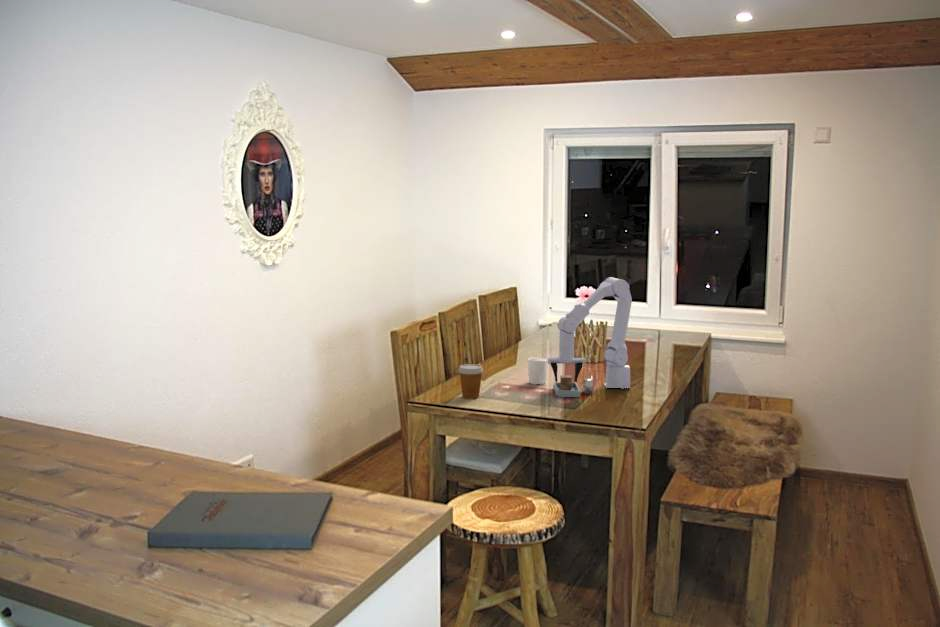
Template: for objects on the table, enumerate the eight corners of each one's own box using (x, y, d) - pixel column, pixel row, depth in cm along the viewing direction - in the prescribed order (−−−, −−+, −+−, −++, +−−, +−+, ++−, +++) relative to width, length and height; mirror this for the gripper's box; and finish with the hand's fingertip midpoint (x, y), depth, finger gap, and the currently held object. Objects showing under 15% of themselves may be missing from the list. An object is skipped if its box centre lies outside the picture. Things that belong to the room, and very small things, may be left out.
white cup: (545, 385, 323) (546, 361, 321) (526, 384, 324) (526, 360, 323) (547, 381, 330) (548, 357, 329) (528, 380, 332) (529, 356, 330)
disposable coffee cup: (474, 401, 297) (474, 370, 296) (453, 398, 302) (453, 367, 301) (487, 396, 305) (488, 365, 304) (466, 392, 310) (466, 362, 309)
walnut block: (570, 387, 317) (570, 375, 316) (571, 390, 313) (571, 377, 312) (560, 387, 317) (560, 375, 316) (561, 390, 313) (561, 377, 312)
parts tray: (576, 388, 318) (576, 382, 318) (580, 397, 304) (580, 390, 304) (553, 388, 318) (553, 382, 318) (556, 396, 304) (556, 390, 304)
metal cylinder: (592, 390, 314) (592, 378, 313) (593, 393, 310) (594, 380, 309) (582, 390, 314) (582, 378, 313) (583, 393, 310) (583, 380, 309)
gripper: (549, 349, 308) (548, 383, 310) (586, 349, 308) (585, 383, 310) (547, 346, 315) (546, 379, 317) (584, 346, 315) (583, 379, 317)
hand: (565, 381), depth 314 cm, fingers open, 7 cm apart
